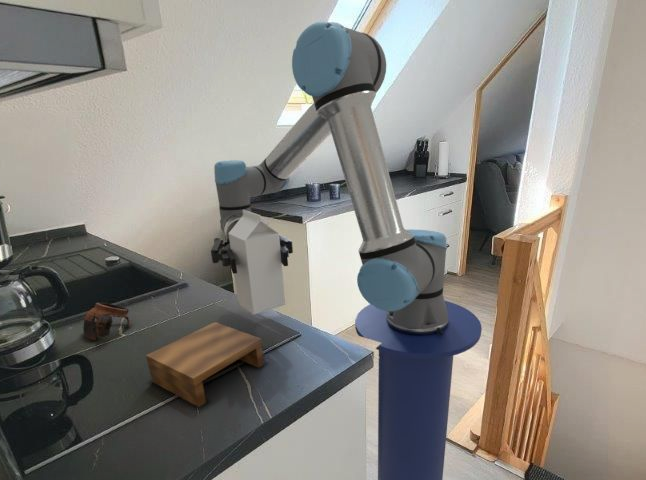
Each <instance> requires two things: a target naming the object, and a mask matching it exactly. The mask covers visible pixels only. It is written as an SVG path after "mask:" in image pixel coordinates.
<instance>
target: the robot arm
mask: <svg viewBox="0 0 646 480" xmlns="http://www.w3.org/2000/svg"><path fill="white" fill-rule="evenodd" d="M295 44H296V45H295V48H294V49H293V52H292V57H291V69H292V75H293V78H294V80H295V83H296V84H297V86H298V88H299V89H300V90H302V91H303V92H304V93H305V94H307V96H311V98H312V101H313V102H312V104H311V105H309V107H308V108H307V109H306V110H305V111H304V113H303V114H302V115H301V116H300V117H299V119H298V120H297V121H296V122H295V123H294V125H292V127H291V128H290V129H289V130H288V132H287V133H286V134H285V135H284V136H283V137H282V138H281V140H280V141H279V142H278V143H277V144H276V145H275V146H274V148H273V149H272V150H271V151H270V153H268V155H267V156H266V157H265V158H264V159H263V160H262V161H261V163H259V165H252V166H247V164H246V162H245V161H244V160H236V159H234V160H232V159H231V160H221V161H217V162H216V163H215V164H214V166H213V169H214V173H213V174H214V182H215V183H214V184H215V188H216V194H217V199H218V207H219V209H218V210H219V216H220V220H219V223H220V229H221V230H222V231H221V232H222V233H223V234H224V236H225V238H226V240H224V239H223V238H219V237H215V238H213V242H214V243H213V245H212V247H211V249H210V256H211V262H212V263H213V264H218V263H220V261H221V262H222V267H230V270H231V272H232V274H233V275H234V273H237V268H236V260H235V257H234V255H233V253H232V250H231V247H230V240H229V232H230V231H231V230H232V228H233V227H234V226H235V225H236V223H237V222H238V221H239V220H240V219H241V217H242V216H243V210H246V211H249V212H252V208H251V198H255V197H259V196H264V195H268V194H276V193H279V192H281V191H283V190H285V189H286V188H287V187H288V185H289V182H290V178H291V175H293V173H295V172H296V170H297V169H299V167H300V166H301V165H302V164H303V163H304V162H305V161H307V159H308V158H309V157H310V156H311V155H312V154H313V153H314V152H315V151H316V150H317V149H318V148H319V146H320V147H321V145H322V144H323V143H324V142H325V141H326V140H327V139H328V138H329V136H331V137H332V140H333V144H334V148H335V150H336V155H337V157H338V160H339V164H340V167H341V170H342V174H343V177H344V180H345V184H346V187H347V191H348V194H349V198H350V200H351V204H352V207H353V211H354V215H355V218H356V221H357V225H358V228H359V232H360V235H361V237H362V238H361V239H362V243H361V244H360V247H359V249H358V254H359V255H358V256H359V258H360V261H361V266H360V268H359V272H358V273H357V277H356V282H357V287H358V290H359V293H360V294H361V297H363V299H364V300H365V301H366V302H368V305H370V304H371V305H374V306H375V307H376V308H378V309H380V310H383V311H387V315H386V321H387V324H388V325H389V326H390V327H391V328H392V329H394V330H396V331H398V332H400V333H404V334H408V335H415V336H426V335H433V334H437V333H440V335H443V334H444V333H443V332H442V331H443V330H445V329H446V328H447V326H448V321H449V315H448V311H447V308H446V304H445V301H446V300H445V298H444V284H445V283H444V282H445V271H446V259H447V258H446V256H447V250H448V246H447V237H446V235H445V234H444V233H442V232H439V231H435V230H428V229H413V228H412V229H405V227H404V223H403V221H402V216H401V213H400V209H399V205H398V203H397V198H396V194H395V190H394V187H393V183H392V179H391V176H390V172H389V169H388V164H387V161H386V158H385V154H384V150H383V147H382V143H381V139H380V136H379V132H378V128H377V124H376V121H375V117H374V113H373V109H372V105H373V102H374V100H375V98H376V96H377V93H378V91H379V90H380V89H381V87H382V85H383V83H384V81H385V78H386V74H387V59H386V54H385V51H384V49H383V47H382V46H381V45H380V43H379V42H378V40H376V39H375V38H374V37H373V36H372V35H370V34H368V33H365V32H362V31H358V30H355V29H352V28H349V27H345V26H344V25H342V24H341V23H339V22H334V21H331V22H330V21H324V20H322V21H321V20H320V21H317V22H313V23H311V24H310V25H308V26H307V27H306V28H305V29H303V31H302V32H301V34H300V35H299V37H298V38H297V40H296V43H295ZM279 239H280V251H281V263H282V266H283V267H289V261H288V258H289V257H290V254H293V253H294V250H293V249H294V248H293V241H292V240H291V239H288V238H286V237H284V236H282V235H281V234H279ZM444 300H445V301H444Z"/></svg>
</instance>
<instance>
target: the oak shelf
mask: <svg viewBox="0 0 646 480" xmlns="http://www.w3.org/2000/svg"><path fill="white" fill-rule="evenodd" d="M145 358H146V362H147V365H148V371H149V374H150V377H151V381H152V383H153V384H155V385H157V386H159V387H160V388H163V389H165V390H166V391H168V392H169V393H172V394H174V395H175V396H177V397H179V398H181V399H183V400H185V401H186V402H188V403H191V404H192V405H194V406H196V407H198V408H200V407H201V406H203V405H204V404H206V403H207V399H206V395H205V394H206V393H205V389H204V383H203V381H205V380H207V379H208V378H209V377H211V376H213V375H214V374H216V373H218V372H220V371H221V370H223V369H225V368H226V367H228V366H229V365H231V364H233V363H234V362H237V361H238V360H239V361H241V362H243V363H246V364H249V365H251V366H252V367H253V366H254V367H256V368H260V367H262V366H264V365H265V361H264V352H263V343H262V338H261V337H258V336H255V335H252V334H249V333H246V332H243V331H240V330H238V329H236V328H234V327H233V328H232V327H231V326H227V325H224V324H221V323H218V322H216V321H215V322H212V323H210V324H208V325H206V326H204V327H202V328H199V329H198V330H195V331H193V332H192V333H189V334H187V335H185V336H183V337H181V338H179V339H176V340H174V341H173V342H171V343H169V344H167V345H164V346H162V347H161V348H159V349H156V350H154V351H152V352H150V353H147V354H146V355H145Z"/></svg>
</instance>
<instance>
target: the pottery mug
mask: <svg viewBox="0 0 646 480" xmlns="http://www.w3.org/2000/svg"><path fill="white" fill-rule="evenodd" d="M129 311H130V310H129V309H128V308H126V307H124V306H120V305H116V304H112V303H107V302H95V305H94V307H92V308H91V309H90V310H88V311H87V313H86V314H85V317H84V320H83V327H82V329H83V337H84V338H86V339H87V340H92V341H97V336H98V337H100V338H103V337H107V336H109V335H110V332H111V327H112V325H113V324H112V323H113V321H114V320H113V317H115V318H124V319H126V321H127V322H126V327H127V328H129V327H130V326H131V319H130V316H129V315H128V313H129Z"/></svg>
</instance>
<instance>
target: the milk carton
mask: <svg viewBox="0 0 646 480" xmlns="http://www.w3.org/2000/svg"><path fill="white" fill-rule="evenodd" d="M269 224H270V221H269V220H268V219H266V218H265V217H263V216H261V214H258V213H255V212H252V211H251V212H249V211H246V210H243V216H242V217H241V219H240V220H239V221H238V222H237V223H236V225H235V226H234V227H233V228H232V230H231V231H230V232H229V240H230V247H231V250H232V253H233V255H234V257H235V260H236V268H237V273H234V274H233V275H234V277H233V278H234V285H235V290H236V298H237V304H238V305H239V306H241V307H242V308H244V309H245V310H246V311H248V312H249V313H250V314H252V315H257V314H261V313H263V312H267V311H269V310H273V309H276V308H279V307H282V306H285V305H286V297H285V286H284V275H283V264H282V263H281V251H280V239H279V235H280V233H279V232H277V231H276V230H275V229H274V228H272V227H270V225H269Z"/></svg>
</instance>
